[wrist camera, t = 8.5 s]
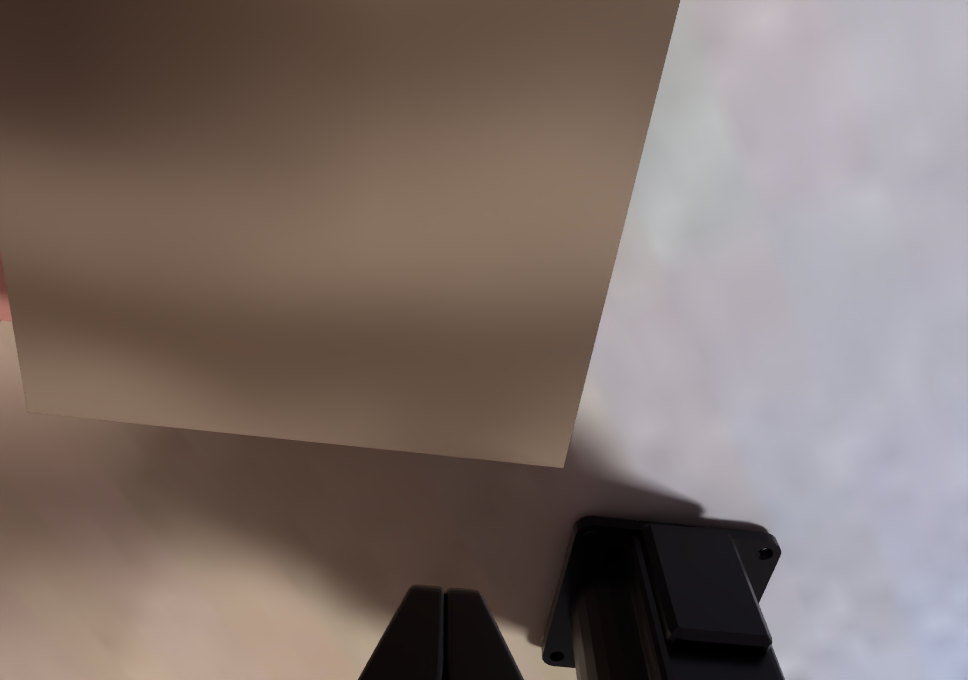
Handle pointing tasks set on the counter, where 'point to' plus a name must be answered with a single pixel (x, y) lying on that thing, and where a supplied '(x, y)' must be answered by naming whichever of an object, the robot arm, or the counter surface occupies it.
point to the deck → (321, 212)
